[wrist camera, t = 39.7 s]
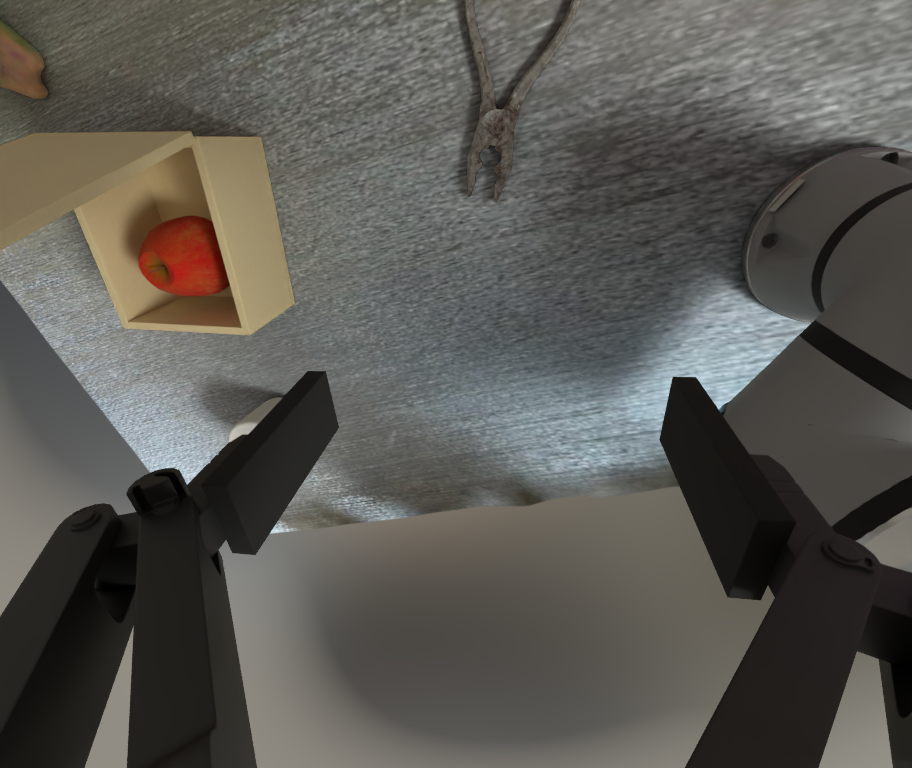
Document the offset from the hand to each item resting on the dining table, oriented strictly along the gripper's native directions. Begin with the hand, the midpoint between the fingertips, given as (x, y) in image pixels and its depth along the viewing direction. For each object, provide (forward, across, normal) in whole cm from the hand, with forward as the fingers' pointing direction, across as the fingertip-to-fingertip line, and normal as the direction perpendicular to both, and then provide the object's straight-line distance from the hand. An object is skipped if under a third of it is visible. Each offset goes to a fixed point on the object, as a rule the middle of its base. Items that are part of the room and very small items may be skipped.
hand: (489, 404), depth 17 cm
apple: (+32, -33, 0) cm, 46 cm away
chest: (+33, -33, +2) cm, 47 cm away
